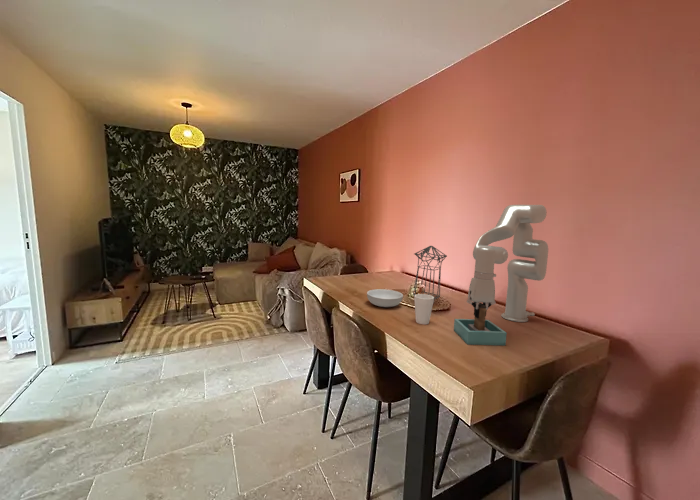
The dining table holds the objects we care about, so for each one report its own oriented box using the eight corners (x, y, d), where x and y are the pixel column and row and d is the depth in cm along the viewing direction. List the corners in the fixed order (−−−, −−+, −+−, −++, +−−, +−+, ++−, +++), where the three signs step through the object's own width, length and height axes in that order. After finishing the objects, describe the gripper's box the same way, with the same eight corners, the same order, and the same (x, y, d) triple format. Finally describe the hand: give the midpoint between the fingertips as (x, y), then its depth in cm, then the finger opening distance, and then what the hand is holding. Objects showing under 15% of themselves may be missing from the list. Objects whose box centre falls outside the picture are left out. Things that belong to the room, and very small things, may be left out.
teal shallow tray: (487, 331, 147) (488, 319, 146) (505, 345, 131) (506, 332, 130) (453, 330, 146) (454, 318, 145) (467, 344, 130) (468, 331, 129)
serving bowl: (362, 307, 176) (363, 295, 175) (370, 298, 196) (371, 287, 195) (399, 312, 170) (400, 300, 169) (404, 302, 190) (405, 291, 189)
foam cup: (410, 323, 154) (411, 297, 152) (415, 317, 162) (417, 293, 160) (429, 326, 149) (431, 300, 148) (434, 321, 157) (436, 296, 156)
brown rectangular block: (478, 329, 140) (481, 302, 139) (484, 333, 135) (486, 306, 134) (473, 329, 140) (475, 302, 139) (478, 333, 135) (480, 305, 134)
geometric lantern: (419, 297, 202) (425, 243, 198) (443, 303, 192) (449, 246, 188) (407, 302, 190) (413, 244, 185) (432, 308, 180) (438, 247, 176)
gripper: (497, 275, 139) (493, 315, 141) (461, 273, 139) (458, 314, 141) (506, 278, 132) (502, 321, 134) (468, 276, 131) (465, 319, 133)
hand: (479, 317), depth 137 cm, fingers closed on brown rectangular block, 2 cm apart
